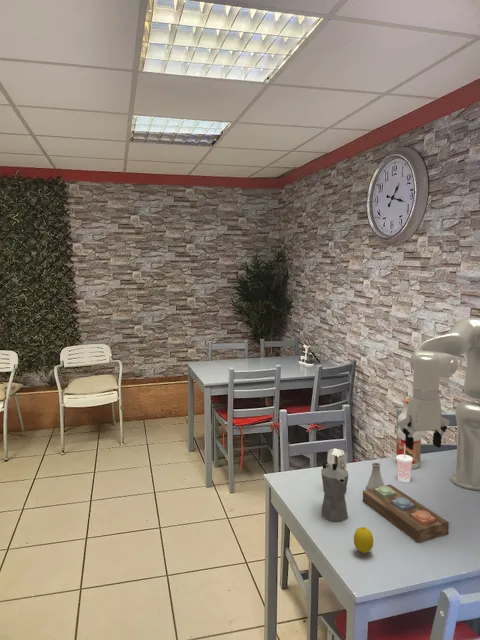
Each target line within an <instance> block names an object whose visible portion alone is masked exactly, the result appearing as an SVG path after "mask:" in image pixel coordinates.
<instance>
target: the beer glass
mask: <svg viewBox="0 0 480 640" xmlns="http://www.w3.org/2000/svg"><path fill="white" fill-rule="evenodd" d="M326 459H327V460H326V462H327V463H328V464H330V465H331V467H333V466H332V464H337V467H340V468H342V469H344V470H346V469H347V452H346V451H345V450H343V449H341V448H331V449H328V450H327V458H326Z"/></svg>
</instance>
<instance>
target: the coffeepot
mask: <svg viewBox="0 0 480 640" xmlns="http://www.w3.org/2000/svg"><path fill="white" fill-rule="evenodd" d="M332 466H333V467H331V465H330V464H328V463H327V461H325V462H324V463H323V464H322V468H321V470H320V472H321V480H322V486H323V488H322V489H323V492H324V495H323V500H322V505H321V511H320V512H321V517H322V519H325V520H326V521H329V522H332V523H340V522H345V521H346V520H347V519H349V517H348V510H347V502H346V497H345V496H346V495H345V494H346V493H347V486H348V480H349V471H348V470H344V469H342V468H340V467H337V464H332Z"/></svg>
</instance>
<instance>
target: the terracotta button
mask: <svg viewBox="0 0 480 640" xmlns="http://www.w3.org/2000/svg"><path fill="white" fill-rule="evenodd" d="M411 518H412V519H414V520H415V521H417V522H418V523H419V524H421V525H422V526H423V525H427V524H430V523H434V522H435V518H434V517H433V516H431V514H430V513H429V512H427V511H424V510H418V511H416V512H415V513H412V514H411Z"/></svg>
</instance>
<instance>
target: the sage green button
mask: <svg viewBox="0 0 480 640" xmlns="http://www.w3.org/2000/svg"><path fill="white" fill-rule="evenodd" d="M375 493H376V494H378V495H379V496H381V497H382V498H388V497H392V496H396V492H395V491H393V490H392V489H391V488H390V487H388V486H379V487H378V488H375Z"/></svg>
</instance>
